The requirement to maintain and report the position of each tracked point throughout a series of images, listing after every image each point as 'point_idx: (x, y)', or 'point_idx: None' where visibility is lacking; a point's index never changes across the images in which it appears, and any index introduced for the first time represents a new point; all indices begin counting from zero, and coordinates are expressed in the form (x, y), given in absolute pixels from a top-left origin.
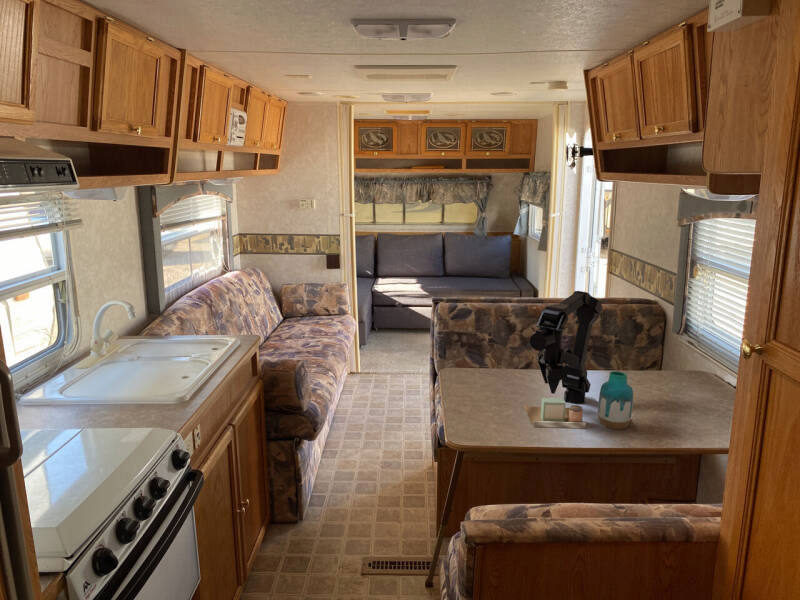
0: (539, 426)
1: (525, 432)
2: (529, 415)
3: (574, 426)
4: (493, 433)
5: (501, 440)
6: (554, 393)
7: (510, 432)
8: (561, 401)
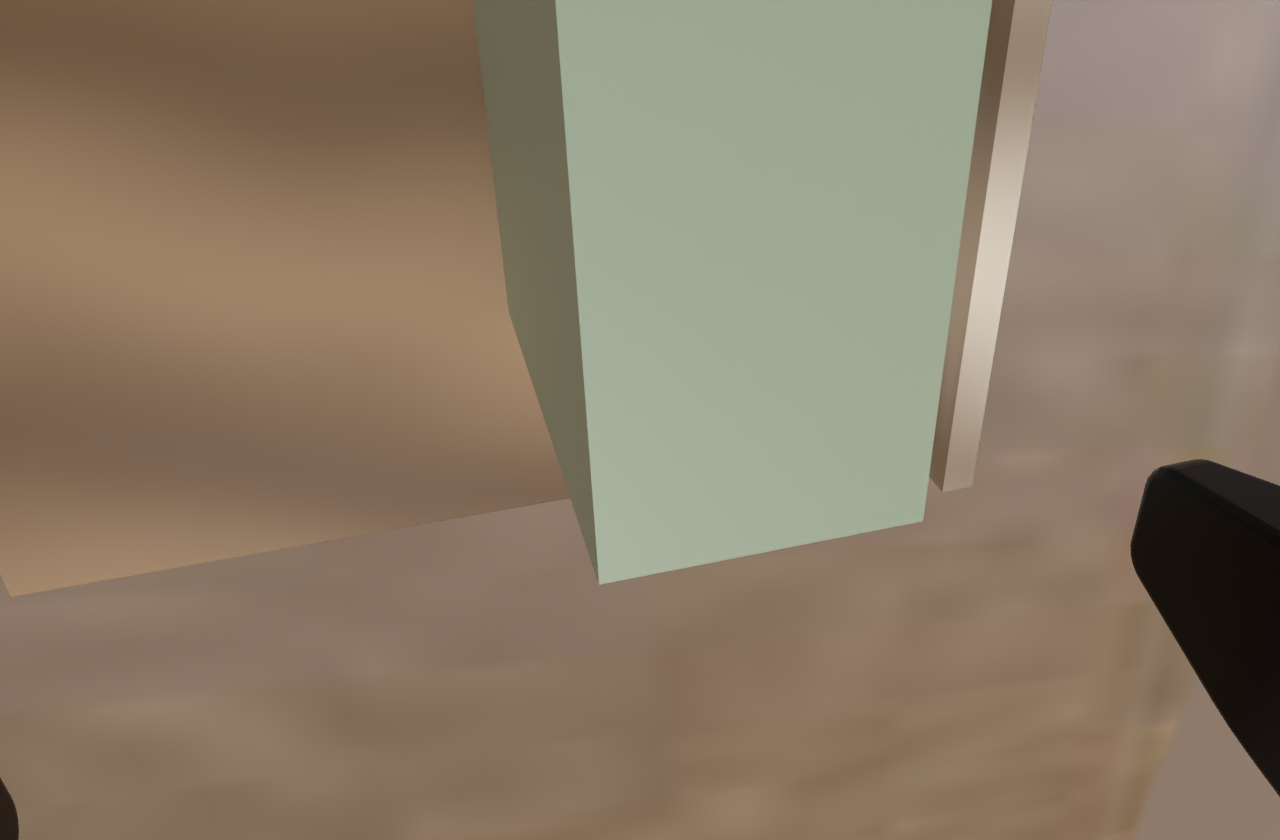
0: None
1: None
2: (466, 493)
3: None
4: (934, 776)
5: (1103, 691)
6: (1193, 464)
7: (918, 637)
8: (863, 16)
